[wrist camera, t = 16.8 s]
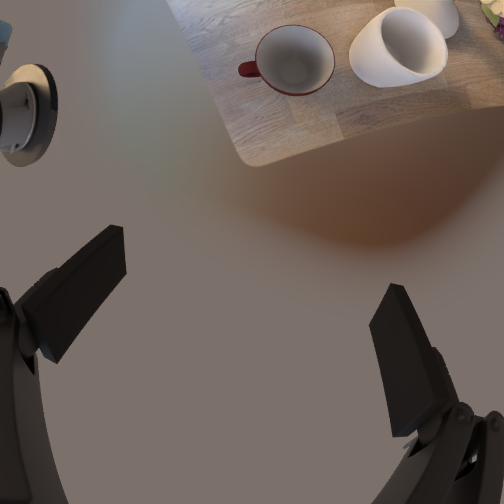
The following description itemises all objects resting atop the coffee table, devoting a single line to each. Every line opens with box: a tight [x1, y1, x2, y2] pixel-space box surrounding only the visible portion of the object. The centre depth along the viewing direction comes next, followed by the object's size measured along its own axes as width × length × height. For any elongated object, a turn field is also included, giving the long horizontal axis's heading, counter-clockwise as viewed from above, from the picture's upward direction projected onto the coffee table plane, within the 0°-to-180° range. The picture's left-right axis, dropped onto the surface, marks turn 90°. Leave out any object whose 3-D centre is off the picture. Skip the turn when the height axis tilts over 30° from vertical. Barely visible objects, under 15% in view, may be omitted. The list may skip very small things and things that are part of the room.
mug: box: [238, 25, 335, 96], centre depth 27 cm, size 10×8×10 cm
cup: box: [349, 6, 448, 88], centre depth 22 cm, size 8×8×14 cm
